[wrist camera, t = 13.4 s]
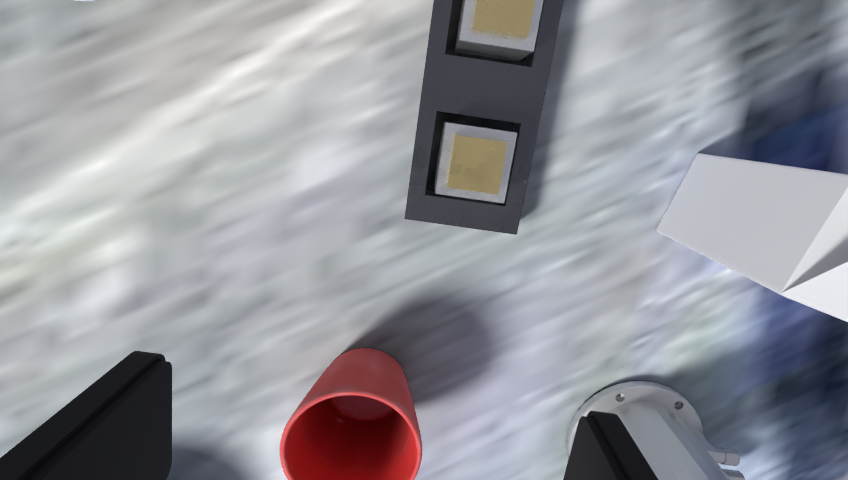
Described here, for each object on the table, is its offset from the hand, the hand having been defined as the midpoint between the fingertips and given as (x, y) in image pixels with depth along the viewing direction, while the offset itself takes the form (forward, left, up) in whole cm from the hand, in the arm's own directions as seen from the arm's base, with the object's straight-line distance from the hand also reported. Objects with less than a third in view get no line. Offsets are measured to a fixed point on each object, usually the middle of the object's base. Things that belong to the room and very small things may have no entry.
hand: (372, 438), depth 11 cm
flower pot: (+2, +18, -31) cm, 35 cm away
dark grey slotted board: (-4, -9, -30) cm, 32 cm away
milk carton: (-25, -3, -31) cm, 40 cm away
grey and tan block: (-4, -15, -30) cm, 34 cm away
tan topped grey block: (-4, -4, -30) cm, 31 cm away
